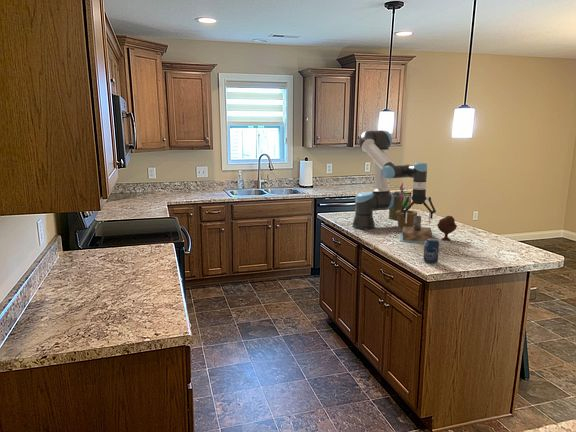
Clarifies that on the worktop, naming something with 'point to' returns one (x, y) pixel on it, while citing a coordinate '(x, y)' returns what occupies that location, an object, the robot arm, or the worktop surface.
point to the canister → (395, 206)
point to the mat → (409, 240)
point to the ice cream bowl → (447, 226)
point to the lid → (416, 231)
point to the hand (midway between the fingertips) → (417, 223)
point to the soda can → (431, 250)
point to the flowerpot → (401, 214)
